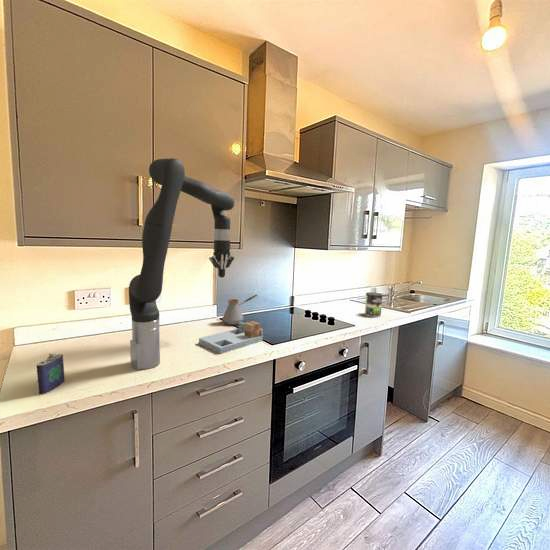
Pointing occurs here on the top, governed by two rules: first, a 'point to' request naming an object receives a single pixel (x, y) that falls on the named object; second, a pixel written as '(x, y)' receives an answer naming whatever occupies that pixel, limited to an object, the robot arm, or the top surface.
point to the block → (252, 329)
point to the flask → (50, 373)
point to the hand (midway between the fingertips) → (221, 277)
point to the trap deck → (229, 340)
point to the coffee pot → (234, 312)
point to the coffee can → (373, 304)
